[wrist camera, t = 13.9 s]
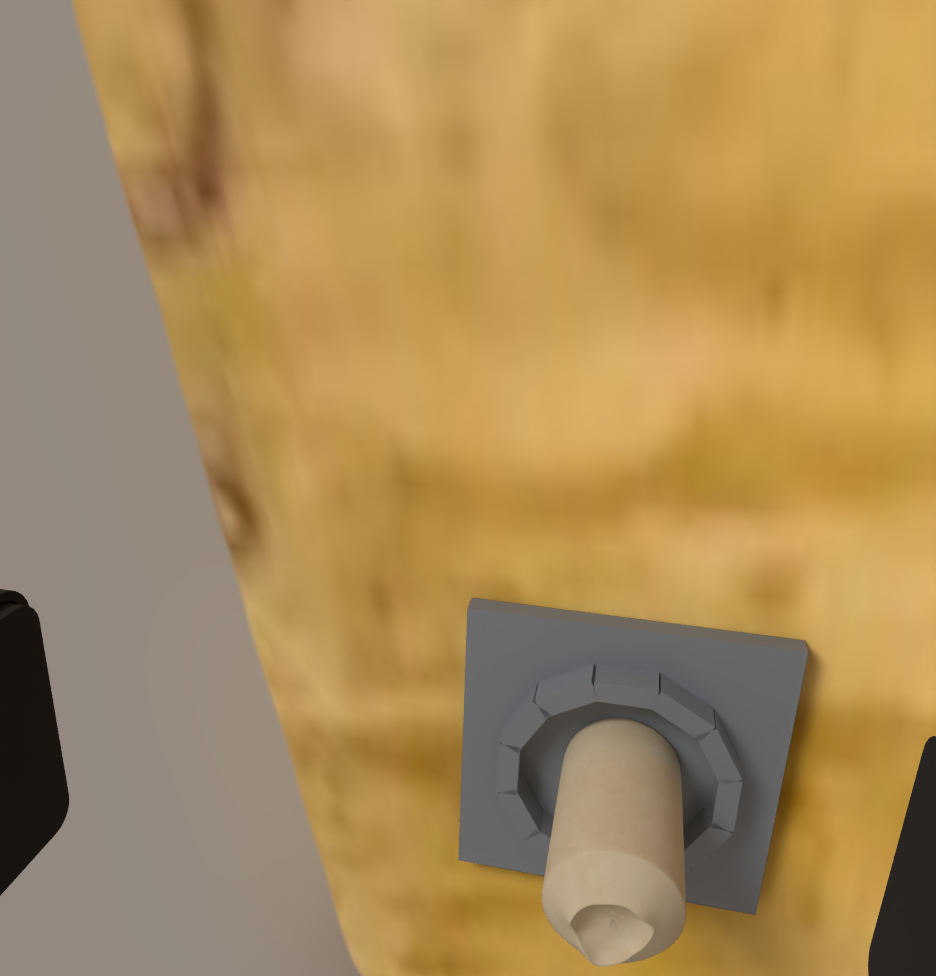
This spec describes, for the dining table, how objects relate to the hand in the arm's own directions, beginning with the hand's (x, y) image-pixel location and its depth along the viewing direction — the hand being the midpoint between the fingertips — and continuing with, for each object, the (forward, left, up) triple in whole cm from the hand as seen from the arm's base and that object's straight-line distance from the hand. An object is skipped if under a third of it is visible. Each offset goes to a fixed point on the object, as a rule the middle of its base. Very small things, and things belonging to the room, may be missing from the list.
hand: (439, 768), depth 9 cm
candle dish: (-3, +21, -28) cm, 35 cm away
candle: (-3, +21, -28) cm, 35 cm away
